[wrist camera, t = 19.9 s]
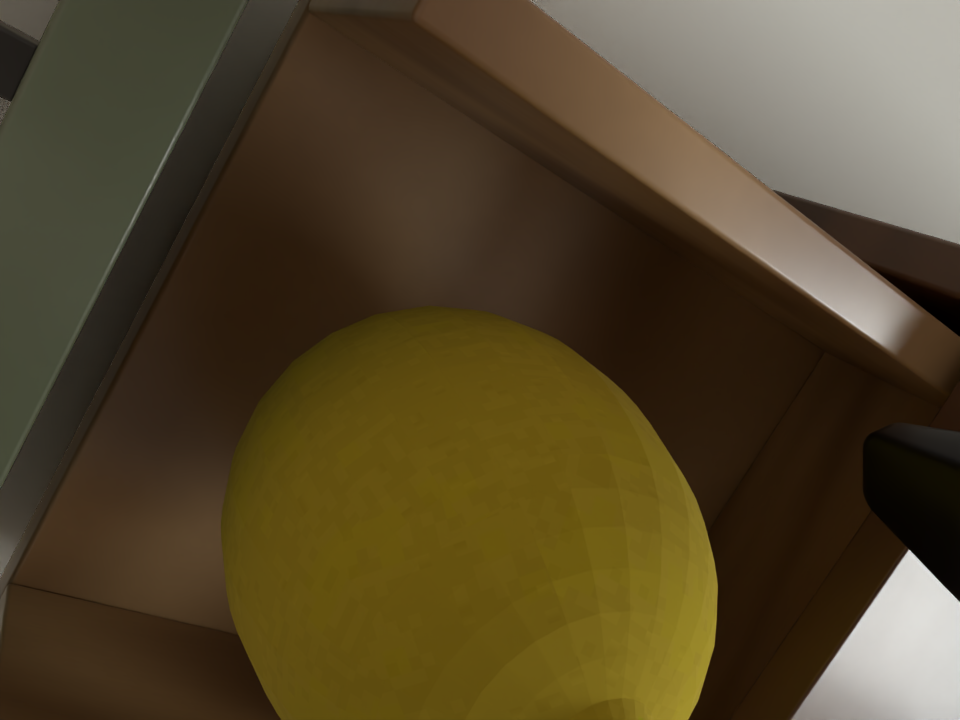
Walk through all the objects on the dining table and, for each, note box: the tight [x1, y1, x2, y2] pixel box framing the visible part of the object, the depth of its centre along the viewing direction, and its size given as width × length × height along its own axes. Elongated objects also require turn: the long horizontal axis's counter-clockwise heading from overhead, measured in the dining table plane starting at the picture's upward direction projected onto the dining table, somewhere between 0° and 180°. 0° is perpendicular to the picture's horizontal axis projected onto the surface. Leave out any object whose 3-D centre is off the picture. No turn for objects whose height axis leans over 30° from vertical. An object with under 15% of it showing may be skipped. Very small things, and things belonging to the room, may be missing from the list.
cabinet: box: [729, 190, 960, 720], centre depth 20 cm, size 17×14×8 cm
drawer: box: [0, 0, 960, 720], centre depth 12 cm, size 20×12×6 cm, turn 58°
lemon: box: [221, 306, 718, 720], centre depth 11 cm, size 6×6×8 cm
